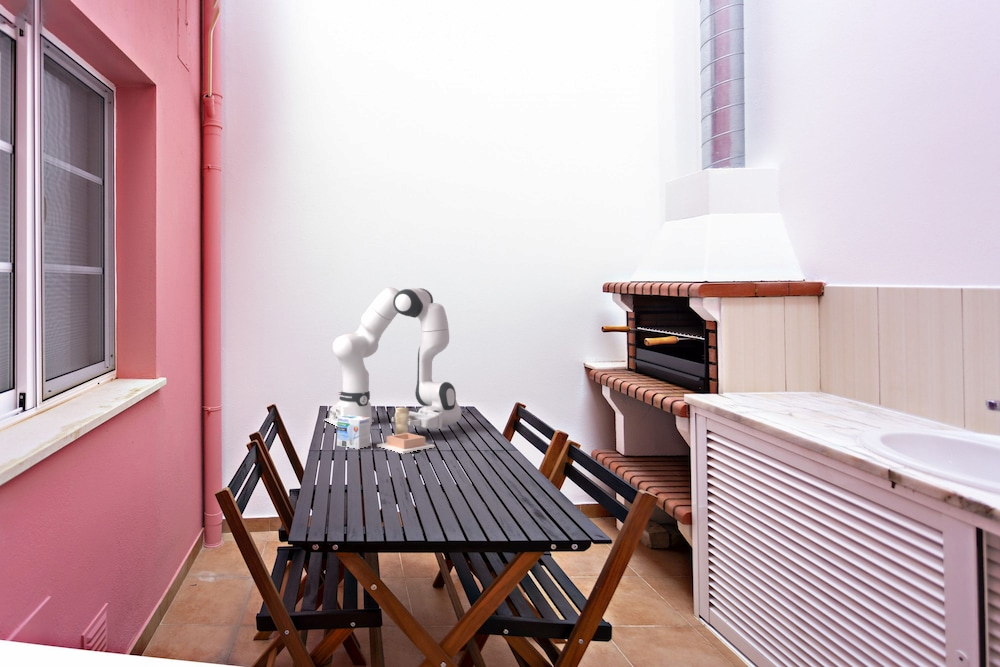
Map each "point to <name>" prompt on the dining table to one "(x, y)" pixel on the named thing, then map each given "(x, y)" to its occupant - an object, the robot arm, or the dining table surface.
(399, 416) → the ash peg
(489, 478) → the dining table surface
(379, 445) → the collar base
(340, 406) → the robot arm
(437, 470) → the dining table surface
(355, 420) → the light bulb box
